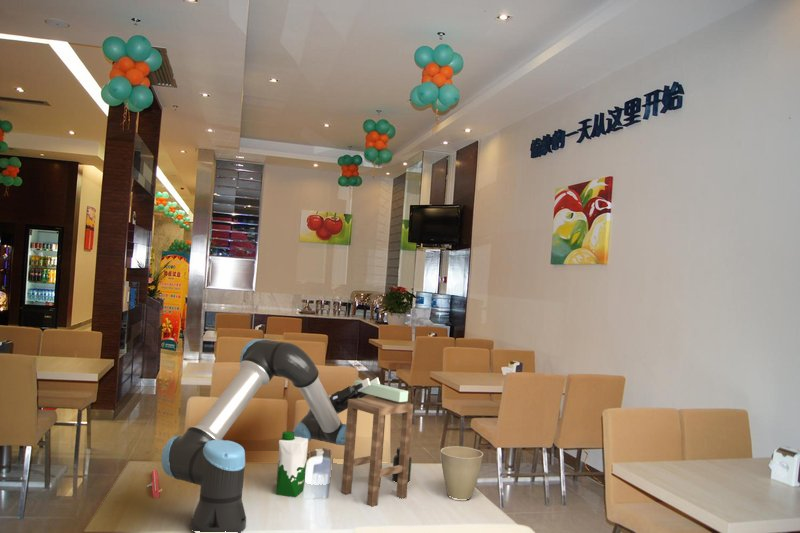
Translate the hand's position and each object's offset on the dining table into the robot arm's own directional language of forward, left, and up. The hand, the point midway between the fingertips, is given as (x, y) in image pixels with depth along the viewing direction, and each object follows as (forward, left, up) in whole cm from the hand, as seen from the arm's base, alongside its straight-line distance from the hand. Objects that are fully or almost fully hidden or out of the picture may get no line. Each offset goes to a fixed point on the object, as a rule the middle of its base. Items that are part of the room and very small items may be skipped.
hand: (373, 381), depth 220 cm
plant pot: (+20, -27, -38) cm, 50 cm away
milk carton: (-27, +8, -38) cm, 47 cm away
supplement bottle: (+15, -3, -38) cm, 41 cm away
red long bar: (-61, +38, -38) cm, 81 cm away
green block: (0, -4, -4) cm, 6 cm away
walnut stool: (-4, -9, -37) cm, 39 cm away
